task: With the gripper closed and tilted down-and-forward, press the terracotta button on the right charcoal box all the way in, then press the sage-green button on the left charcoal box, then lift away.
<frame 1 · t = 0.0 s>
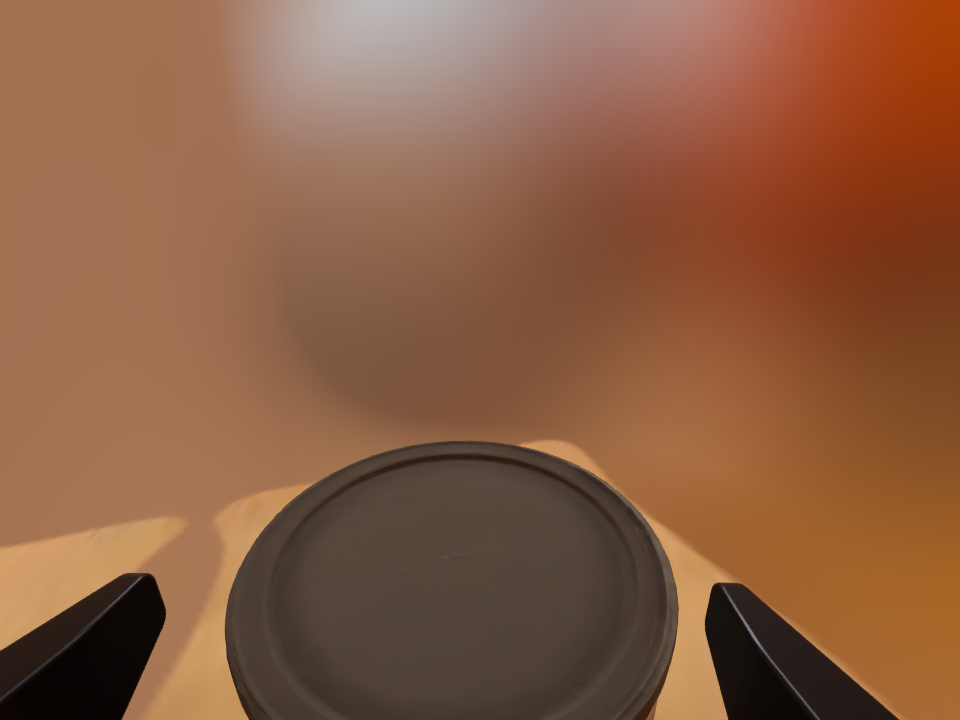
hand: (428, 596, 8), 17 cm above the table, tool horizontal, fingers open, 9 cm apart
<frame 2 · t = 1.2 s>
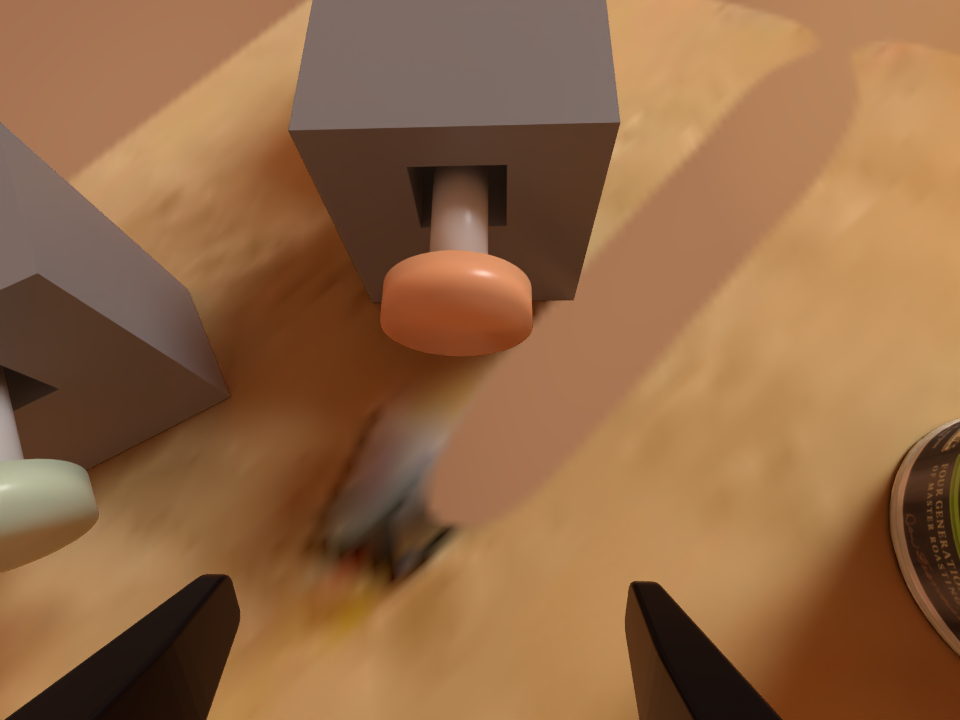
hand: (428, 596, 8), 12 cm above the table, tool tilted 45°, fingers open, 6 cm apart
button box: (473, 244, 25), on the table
terracotta button: (459, 239, 16), point 7 cm above the table, slide at 3.0 cm
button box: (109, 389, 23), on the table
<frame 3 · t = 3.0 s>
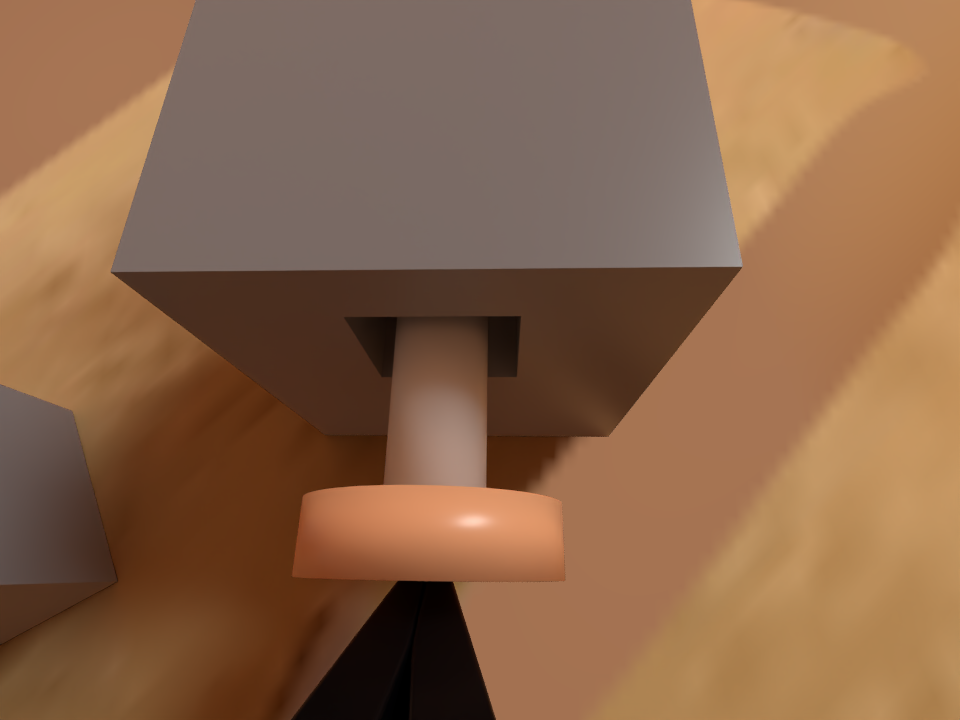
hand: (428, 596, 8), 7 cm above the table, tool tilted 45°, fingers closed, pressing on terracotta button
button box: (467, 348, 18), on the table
terracotta button: (439, 401, 10), point 7 cm above the table, slide at 2.5 cm, touching gripper
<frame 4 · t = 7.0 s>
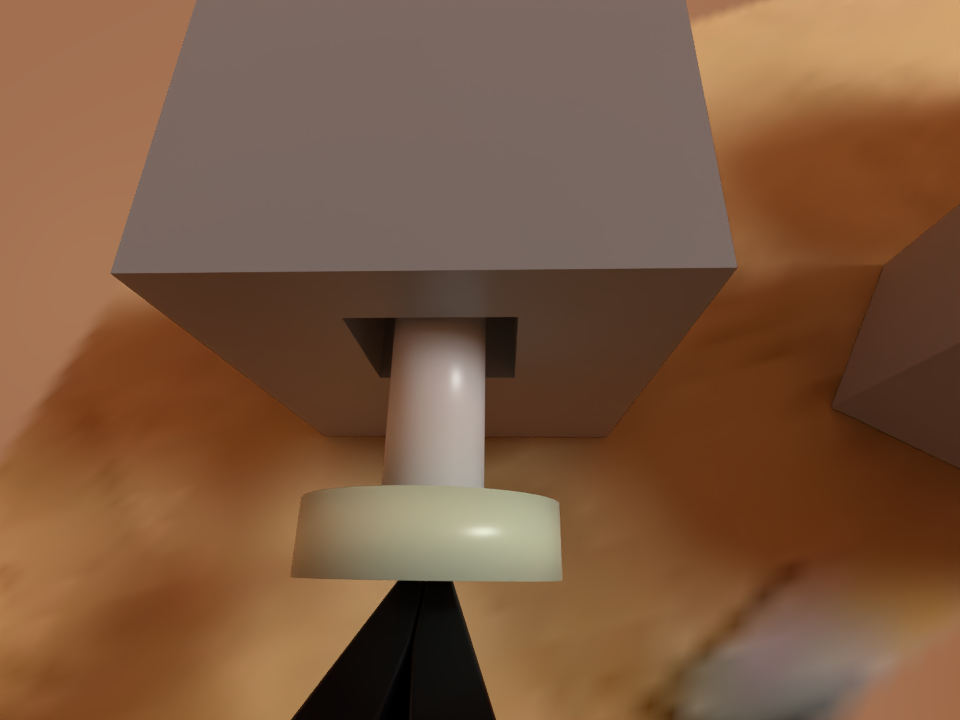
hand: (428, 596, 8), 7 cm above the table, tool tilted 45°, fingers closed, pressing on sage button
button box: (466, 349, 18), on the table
sage button: (437, 402, 10), point 7 cm above the table, slide at 2.5 cm, touching gripper
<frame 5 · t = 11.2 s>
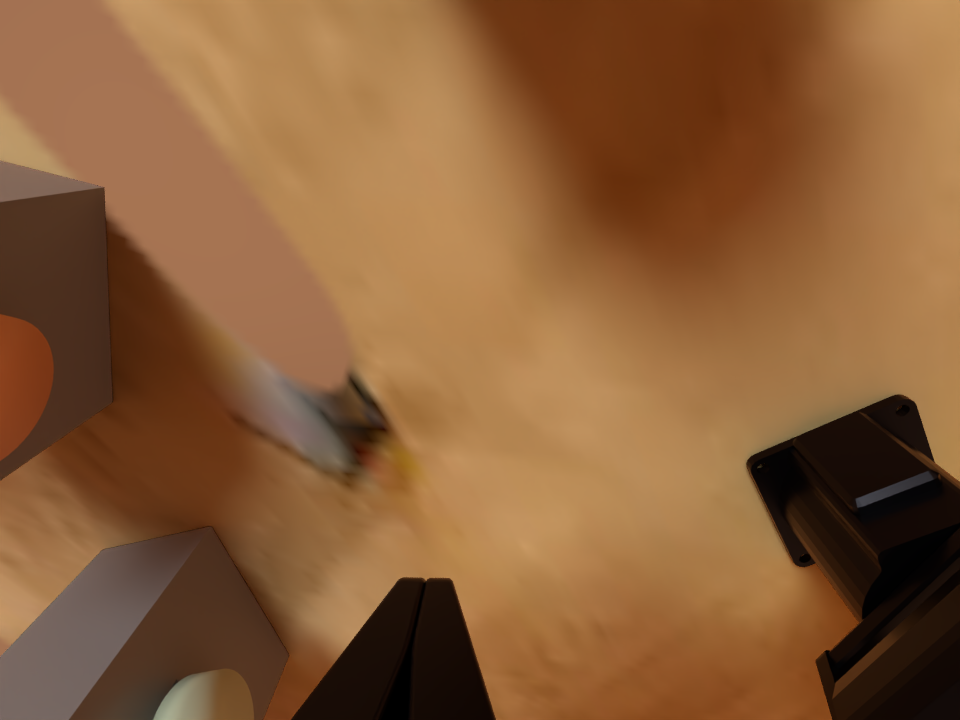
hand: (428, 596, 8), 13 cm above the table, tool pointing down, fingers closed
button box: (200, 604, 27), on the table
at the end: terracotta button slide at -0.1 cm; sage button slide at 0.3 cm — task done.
